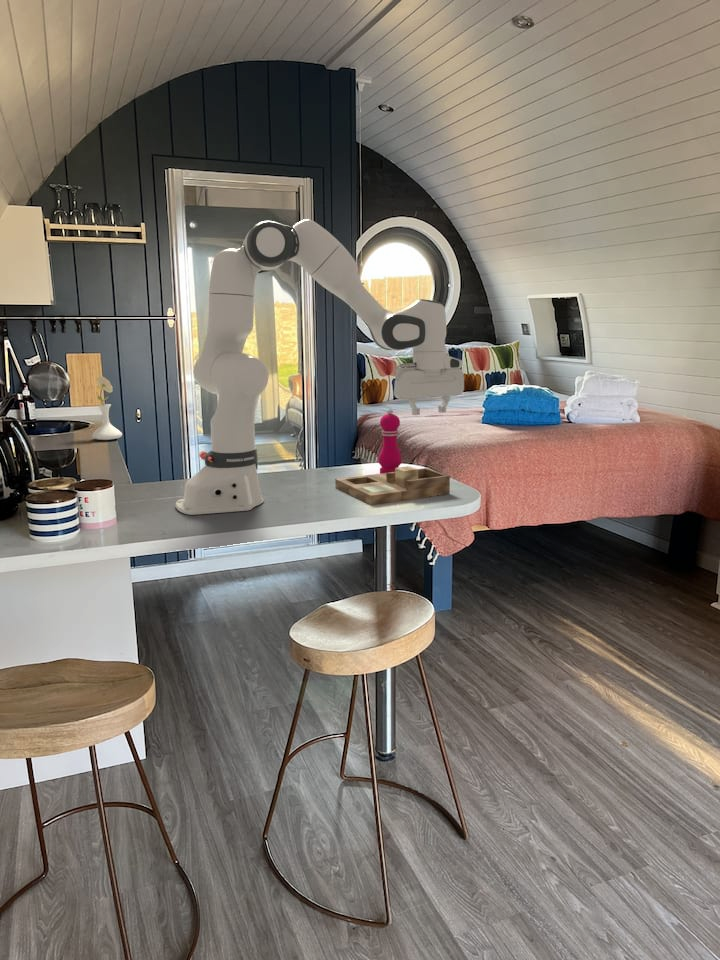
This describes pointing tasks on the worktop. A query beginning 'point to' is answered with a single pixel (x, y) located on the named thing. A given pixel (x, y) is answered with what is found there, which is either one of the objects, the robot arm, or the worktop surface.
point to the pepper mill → (389, 443)
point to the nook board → (394, 486)
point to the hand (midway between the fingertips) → (429, 413)
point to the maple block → (405, 475)
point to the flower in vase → (105, 415)
